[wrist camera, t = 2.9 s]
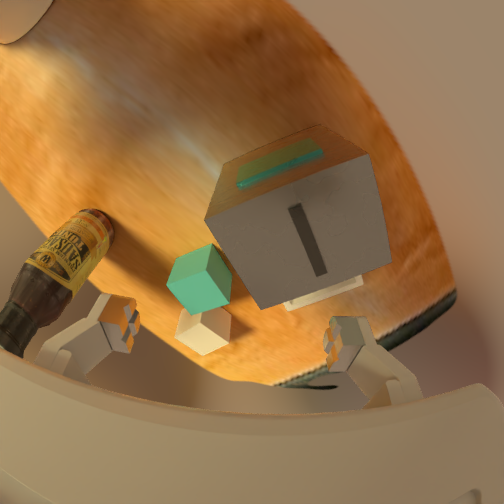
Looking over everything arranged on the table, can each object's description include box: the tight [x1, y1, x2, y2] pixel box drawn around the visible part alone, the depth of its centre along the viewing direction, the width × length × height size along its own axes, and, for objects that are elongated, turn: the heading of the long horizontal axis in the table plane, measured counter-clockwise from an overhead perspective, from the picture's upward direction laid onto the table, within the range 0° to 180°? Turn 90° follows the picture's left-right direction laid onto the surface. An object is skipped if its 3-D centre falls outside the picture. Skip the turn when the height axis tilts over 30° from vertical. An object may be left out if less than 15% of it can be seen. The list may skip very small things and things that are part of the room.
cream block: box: [174, 307, 231, 356], centre depth 35 cm, size 5×5×5 cm
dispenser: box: [204, 124, 392, 310], centre depth 21 cm, size 8×10×12 cm
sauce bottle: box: [0, 209, 114, 358], centre depth 21 cm, size 7×6×20 cm
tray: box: [283, 275, 363, 311], centre depth 31 cm, size 10×10×2 cm
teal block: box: [166, 244, 232, 315], centre depth 30 cm, size 5×5×5 cm
